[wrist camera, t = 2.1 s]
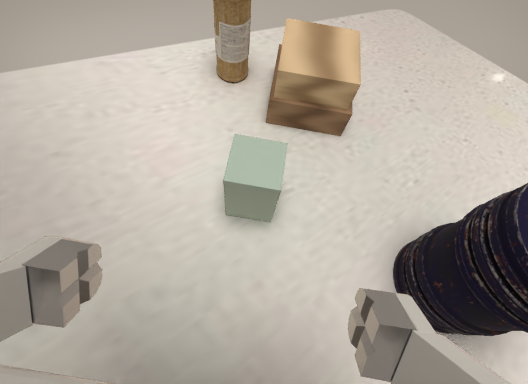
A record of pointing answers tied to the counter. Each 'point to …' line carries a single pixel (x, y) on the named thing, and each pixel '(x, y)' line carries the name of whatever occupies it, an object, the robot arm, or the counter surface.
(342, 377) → the counter surface
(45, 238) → the robot arm
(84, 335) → the counter surface
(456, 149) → the counter surface
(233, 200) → the sage block
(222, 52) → the sprinkles bottle
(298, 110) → the walnut block
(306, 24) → the oak block
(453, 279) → the storage jar
